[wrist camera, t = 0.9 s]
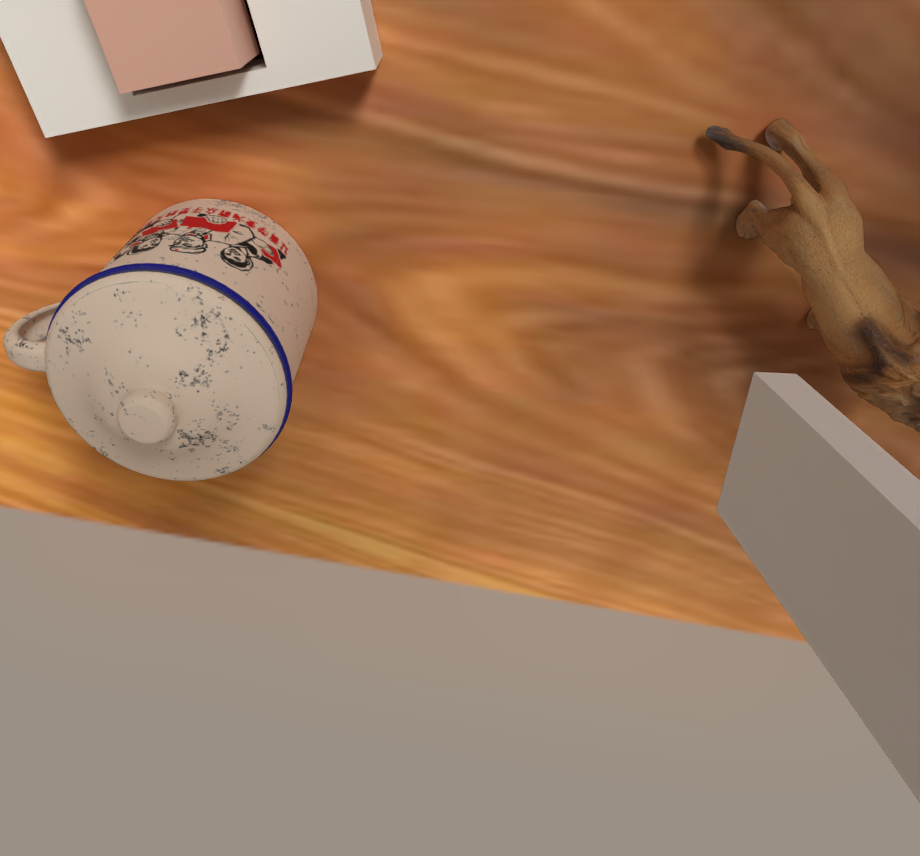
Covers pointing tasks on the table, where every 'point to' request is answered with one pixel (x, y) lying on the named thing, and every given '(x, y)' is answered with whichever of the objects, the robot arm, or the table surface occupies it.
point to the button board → (100, 103)
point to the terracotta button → (171, 39)
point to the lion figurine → (836, 273)
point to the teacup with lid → (180, 342)
